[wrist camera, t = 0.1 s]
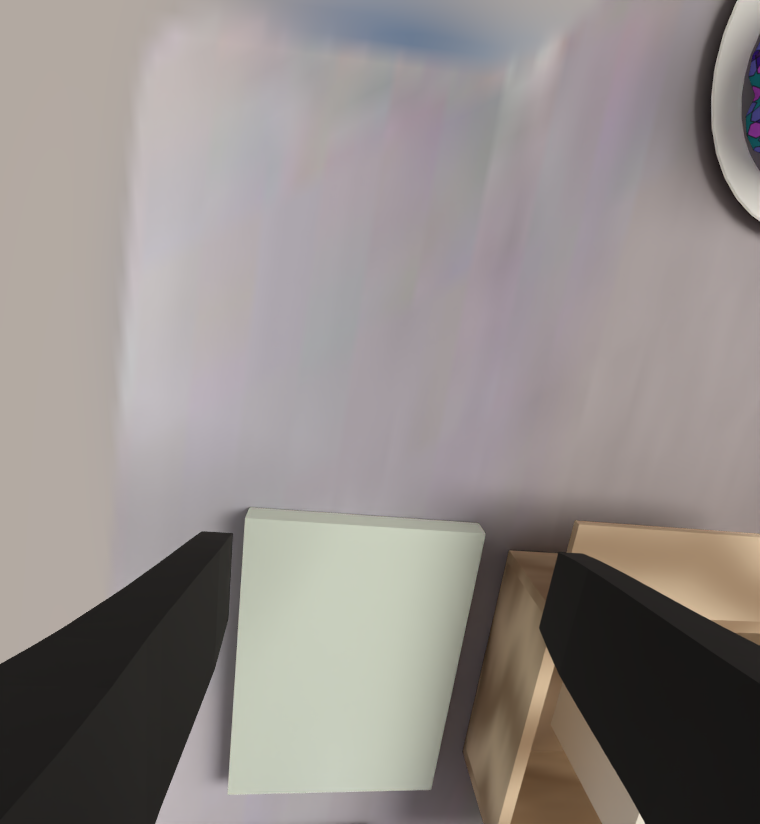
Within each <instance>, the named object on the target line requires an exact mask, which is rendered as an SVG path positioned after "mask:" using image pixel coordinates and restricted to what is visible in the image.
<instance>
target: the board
mask: <svg viewBox="0 0 760 824" xmlns="http://www.w3.org/2000/svg"><path fill="white" fill-rule="evenodd" d="M485 535H486V533H485V532H484V530H483V529H482V527H481V526H480V524H479V523H470V522H456V521H441V520H427V519H412V518H398V517H383V516H369V515H354V514H340V513H325V512H311V511H296V510H282V509H267V508H253V507H250V508H249V510H248V512H247V515H246V517H245V527H244V543H243V558H242V574H241V590H240V606H239V622H238V637H237V653H236V669H235V685H234V701H233V716H232V732H231V748H230V764H229V779H228V795H241V794H282V793H323V792H364V791H405V790H431V788H432V783H433V778H434V774H435V769H436V764H437V760H438V755H439V750H440V746H441V741H442V736H443V732H444V727H445V722H446V718H447V713H448V708H449V703H450V699H451V694H452V689H453V685H454V680H455V675H456V671H457V666H458V661H459V657H460V652H461V647H462V643H463V638H464V633H465V629H466V624H467V619H468V615H469V610H470V605H471V601H472V596H473V591H474V587H475V582H476V577H477V573H478V568H479V563H480V559H481V554H482V549H483V545H484V540H485Z"/></svg>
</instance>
